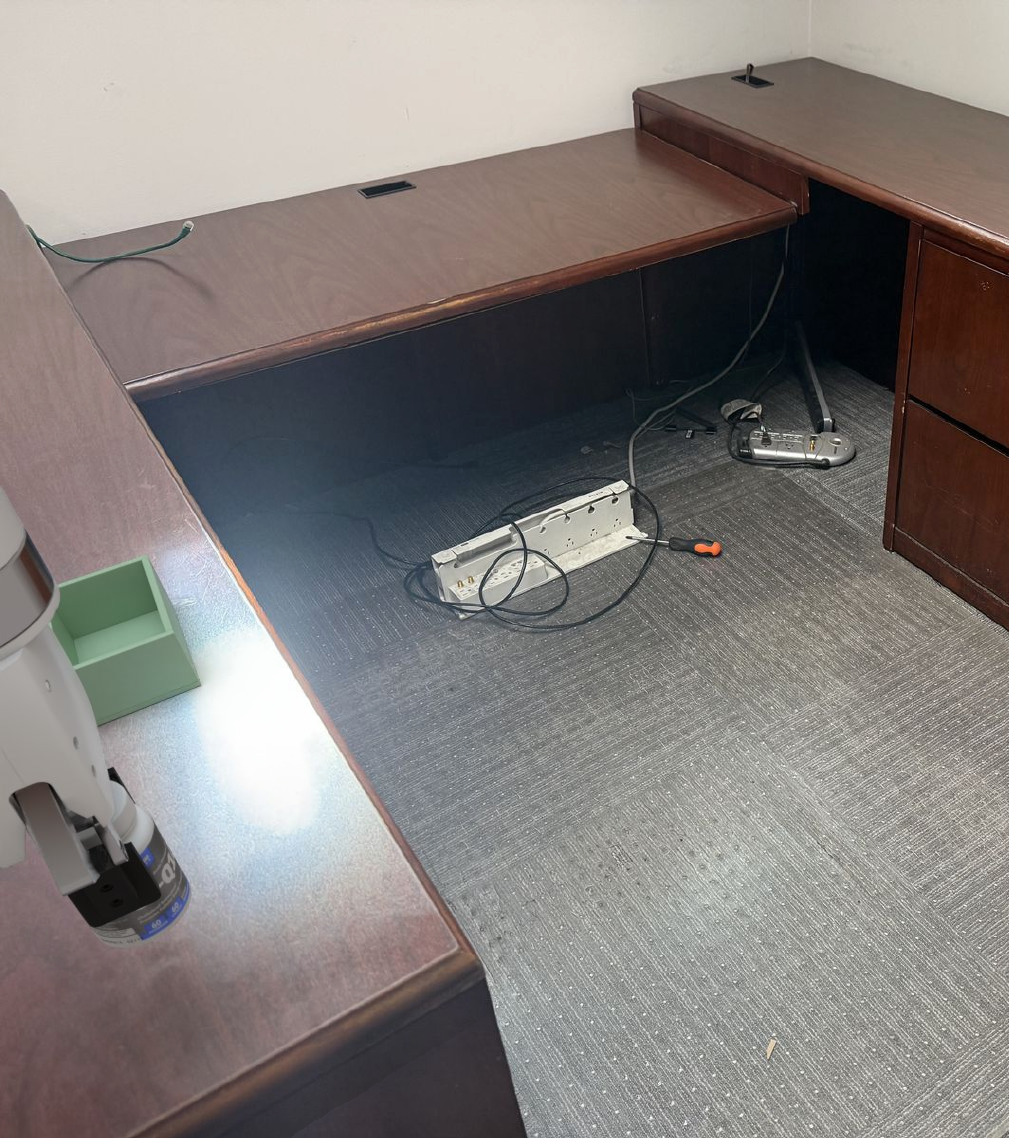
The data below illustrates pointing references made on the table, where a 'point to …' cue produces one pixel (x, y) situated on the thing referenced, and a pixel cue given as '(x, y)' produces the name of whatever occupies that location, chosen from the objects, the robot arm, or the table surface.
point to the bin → (123, 639)
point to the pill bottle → (160, 862)
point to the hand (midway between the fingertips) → (117, 867)
